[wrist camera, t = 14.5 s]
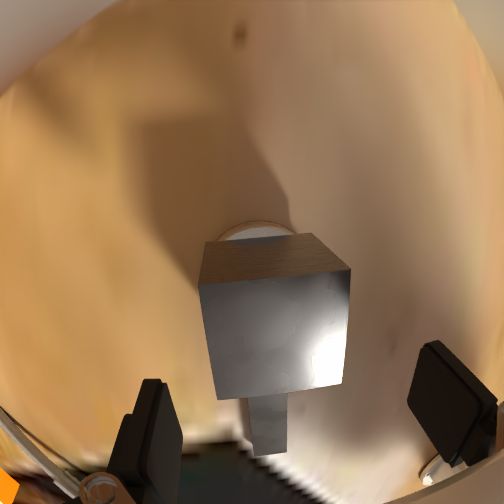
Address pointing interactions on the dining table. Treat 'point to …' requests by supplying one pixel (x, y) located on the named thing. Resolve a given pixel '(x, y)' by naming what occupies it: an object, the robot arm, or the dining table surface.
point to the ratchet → (269, 406)
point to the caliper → (41, 458)
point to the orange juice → (7, 488)
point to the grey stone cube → (274, 314)
